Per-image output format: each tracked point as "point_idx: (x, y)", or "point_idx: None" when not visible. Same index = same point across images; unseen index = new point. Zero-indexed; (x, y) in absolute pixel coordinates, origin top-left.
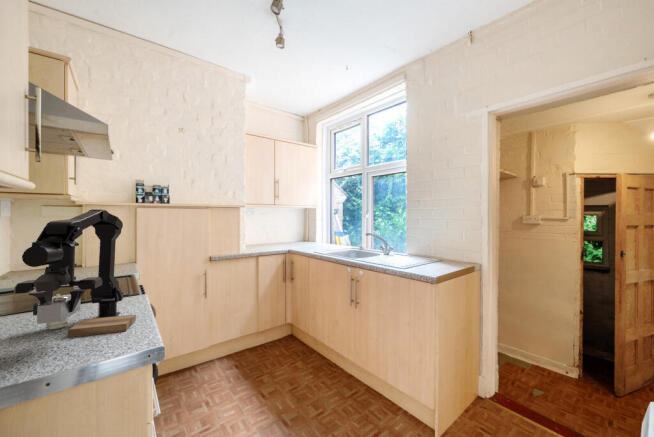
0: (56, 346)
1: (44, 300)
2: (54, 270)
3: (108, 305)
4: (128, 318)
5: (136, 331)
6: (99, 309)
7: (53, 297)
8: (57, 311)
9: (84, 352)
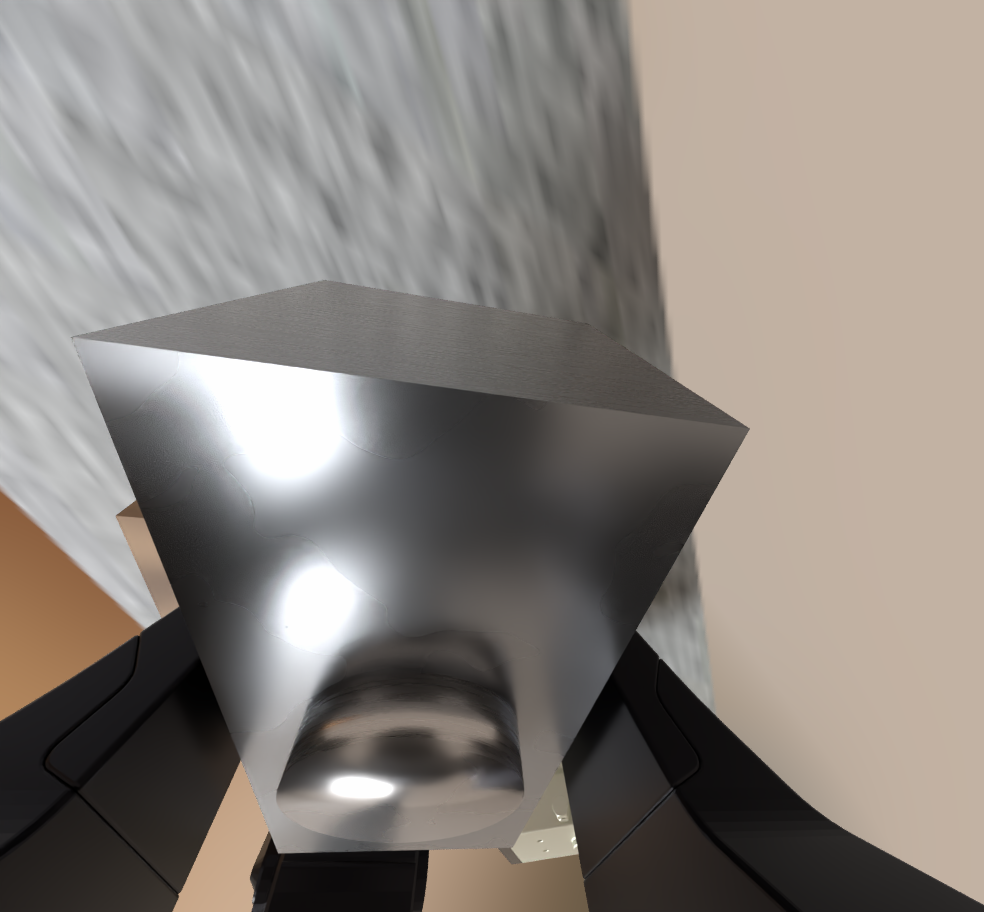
0: None
1: (655, 731)
2: None
3: None
4: (175, 600)
5: (71, 452)
6: None
7: None
8: (298, 305)
9: (216, 169)
